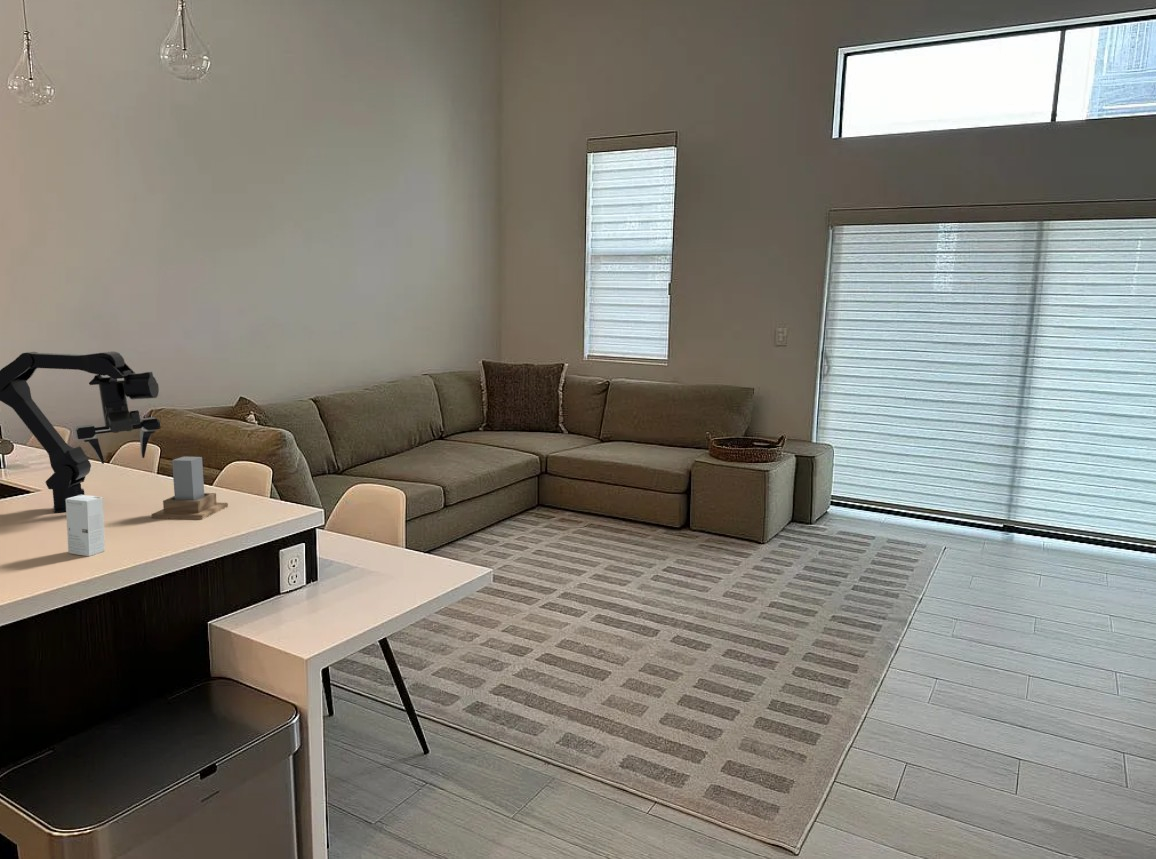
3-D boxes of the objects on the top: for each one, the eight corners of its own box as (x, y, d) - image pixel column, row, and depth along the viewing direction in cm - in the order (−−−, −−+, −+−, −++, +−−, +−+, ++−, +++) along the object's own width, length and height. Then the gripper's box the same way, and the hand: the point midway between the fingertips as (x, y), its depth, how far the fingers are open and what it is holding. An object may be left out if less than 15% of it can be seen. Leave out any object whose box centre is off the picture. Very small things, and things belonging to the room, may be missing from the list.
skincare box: (67, 554, 173) (62, 498, 171) (85, 548, 177) (81, 494, 175) (89, 556, 171) (84, 501, 169) (107, 550, 175) (103, 496, 173)
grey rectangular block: (194, 511, 205) (191, 460, 203) (175, 510, 205) (172, 460, 203) (205, 506, 210) (201, 457, 208) (186, 505, 210) (183, 456, 208)
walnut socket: (202, 519, 201) (201, 503, 200) (151, 518, 202) (150, 502, 201) (228, 506, 214) (227, 491, 213) (180, 505, 214) (179, 490, 214)
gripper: (74, 407, 195) (85, 471, 197) (160, 398, 206) (168, 458, 208) (70, 404, 204) (80, 465, 206) (152, 396, 215) (160, 453, 217)
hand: (123, 460), depth 209 cm, fingers open, 9 cm apart
